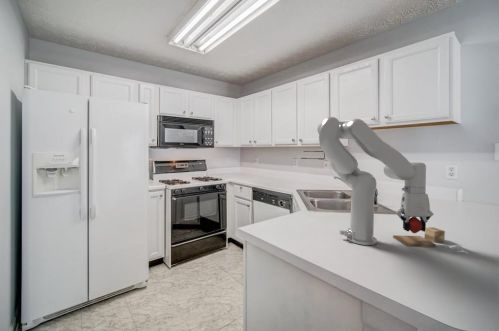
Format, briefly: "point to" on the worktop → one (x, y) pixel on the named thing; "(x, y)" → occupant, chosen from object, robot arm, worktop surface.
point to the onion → (415, 225)
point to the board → (414, 241)
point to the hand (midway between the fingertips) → (414, 230)
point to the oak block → (434, 234)
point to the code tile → (457, 249)
